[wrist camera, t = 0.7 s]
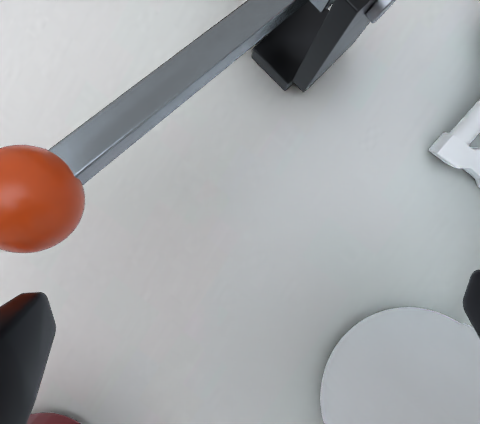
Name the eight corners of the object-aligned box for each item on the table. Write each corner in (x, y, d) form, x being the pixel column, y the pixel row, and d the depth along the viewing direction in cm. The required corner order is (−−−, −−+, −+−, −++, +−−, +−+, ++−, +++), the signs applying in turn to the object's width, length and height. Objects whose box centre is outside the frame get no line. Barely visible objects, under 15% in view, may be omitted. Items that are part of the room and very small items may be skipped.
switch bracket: (301, 108, 23) (362, 28, 13) (234, 40, 23) (244, -93, 13) (355, 54, 23) (455, -65, 13) (289, -15, 23) (341, -186, 13)
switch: (35, 277, 11) (-3, 273, 8) (-36, 209, 11) (-99, 180, 8) (359, -6, 17) (403, -66, 14) (314, -53, 17) (349, -123, 14)
